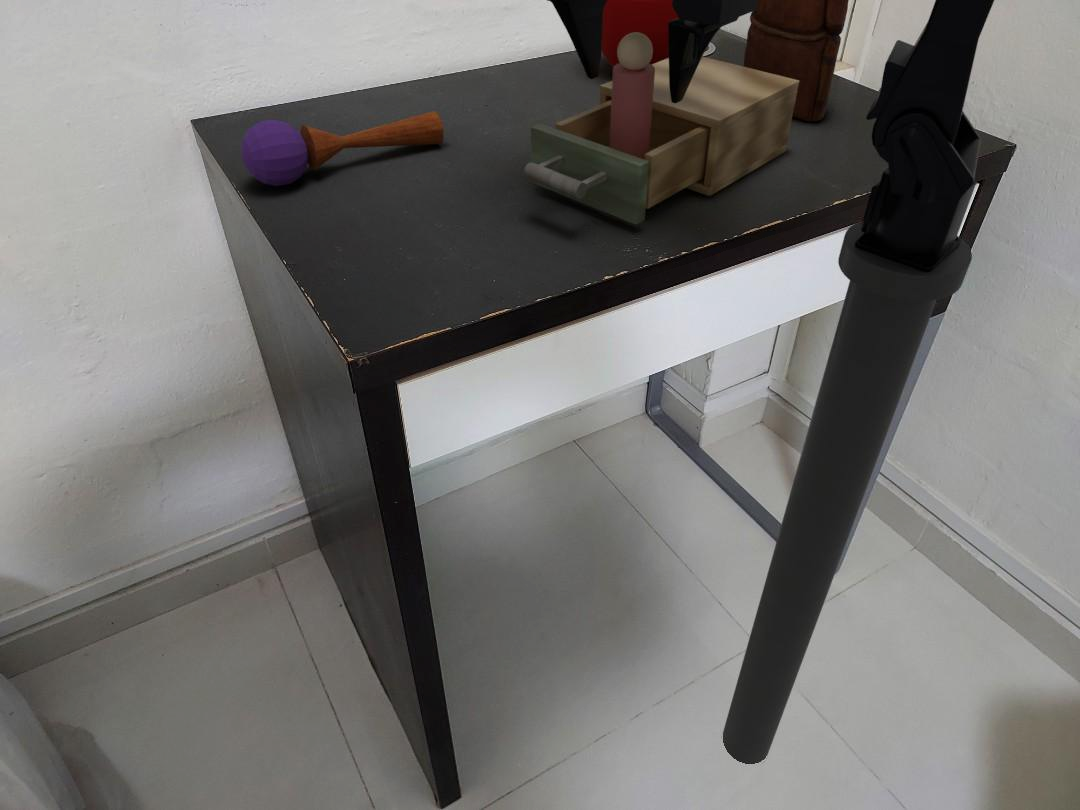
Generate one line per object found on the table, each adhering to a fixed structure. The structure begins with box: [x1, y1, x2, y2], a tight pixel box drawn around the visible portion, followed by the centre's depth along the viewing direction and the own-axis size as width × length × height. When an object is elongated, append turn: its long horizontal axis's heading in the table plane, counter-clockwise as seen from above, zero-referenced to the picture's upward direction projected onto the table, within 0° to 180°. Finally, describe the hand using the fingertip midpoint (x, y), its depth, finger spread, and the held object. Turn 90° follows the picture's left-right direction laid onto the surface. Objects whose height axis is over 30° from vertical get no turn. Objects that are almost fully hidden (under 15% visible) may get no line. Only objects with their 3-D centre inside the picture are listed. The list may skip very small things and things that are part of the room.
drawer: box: [523, 100, 711, 226], centre depth 71 cm, size 17×12×5 cm
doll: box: [609, 32, 655, 160], centre depth 69 cm, size 4×4×12 cm
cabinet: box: [599, 56, 799, 197], centre depth 78 cm, size 14×14×7 cm
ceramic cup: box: [601, 0, 679, 68], centre depth 98 cm, size 13×17×10 cm
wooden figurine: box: [743, 0, 850, 122], centre depth 84 cm, size 12×6×18 cm, turn 42°
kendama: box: [240, 110, 445, 187], centre depth 78 cm, size 6×6×20 cm
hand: (633, 89), depth 68 cm, fingers open, 9 cm apart
